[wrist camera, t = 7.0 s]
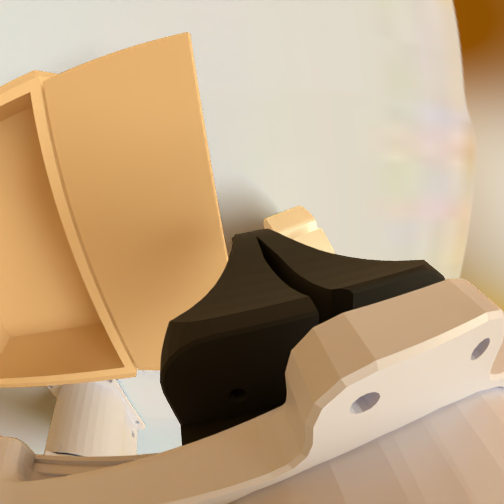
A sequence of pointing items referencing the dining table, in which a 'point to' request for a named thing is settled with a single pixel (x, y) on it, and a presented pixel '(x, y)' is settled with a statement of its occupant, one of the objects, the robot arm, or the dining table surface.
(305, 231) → the letter
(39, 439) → the dining table surface
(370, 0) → the dining table surface
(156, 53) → the carton flap
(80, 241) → the carton
